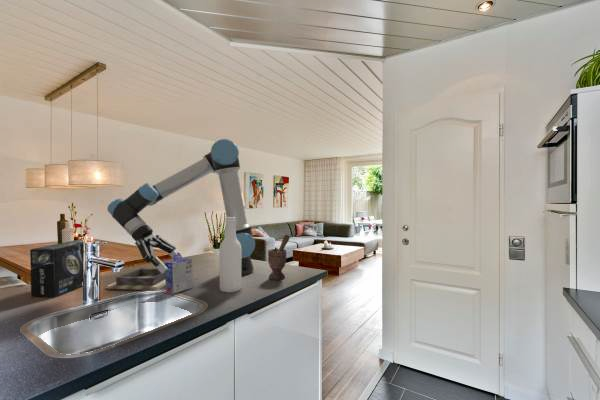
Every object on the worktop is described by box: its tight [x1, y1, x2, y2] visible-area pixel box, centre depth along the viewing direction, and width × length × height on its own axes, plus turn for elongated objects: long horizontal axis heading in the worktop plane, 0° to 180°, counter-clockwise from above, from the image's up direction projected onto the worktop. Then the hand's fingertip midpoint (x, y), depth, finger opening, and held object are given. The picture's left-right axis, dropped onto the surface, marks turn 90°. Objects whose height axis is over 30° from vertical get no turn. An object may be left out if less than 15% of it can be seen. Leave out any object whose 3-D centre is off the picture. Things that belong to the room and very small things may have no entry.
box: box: [29, 239, 84, 298], centre depth 123 cm, size 23×10×19 cm, turn 178°
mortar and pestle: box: [267, 234, 290, 281], centre depth 140 cm, size 12×9×20 cm
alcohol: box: [218, 217, 242, 293], centre depth 121 cm, size 9×9×30 cm
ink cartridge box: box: [164, 253, 194, 295], centre depth 121 cm, size 10×6×14 cm, turn 149°
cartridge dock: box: [106, 267, 166, 291], centre depth 132 cm, size 22×20×4 cm
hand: (173, 266), depth 121 cm, fingers open, 13 cm apart
